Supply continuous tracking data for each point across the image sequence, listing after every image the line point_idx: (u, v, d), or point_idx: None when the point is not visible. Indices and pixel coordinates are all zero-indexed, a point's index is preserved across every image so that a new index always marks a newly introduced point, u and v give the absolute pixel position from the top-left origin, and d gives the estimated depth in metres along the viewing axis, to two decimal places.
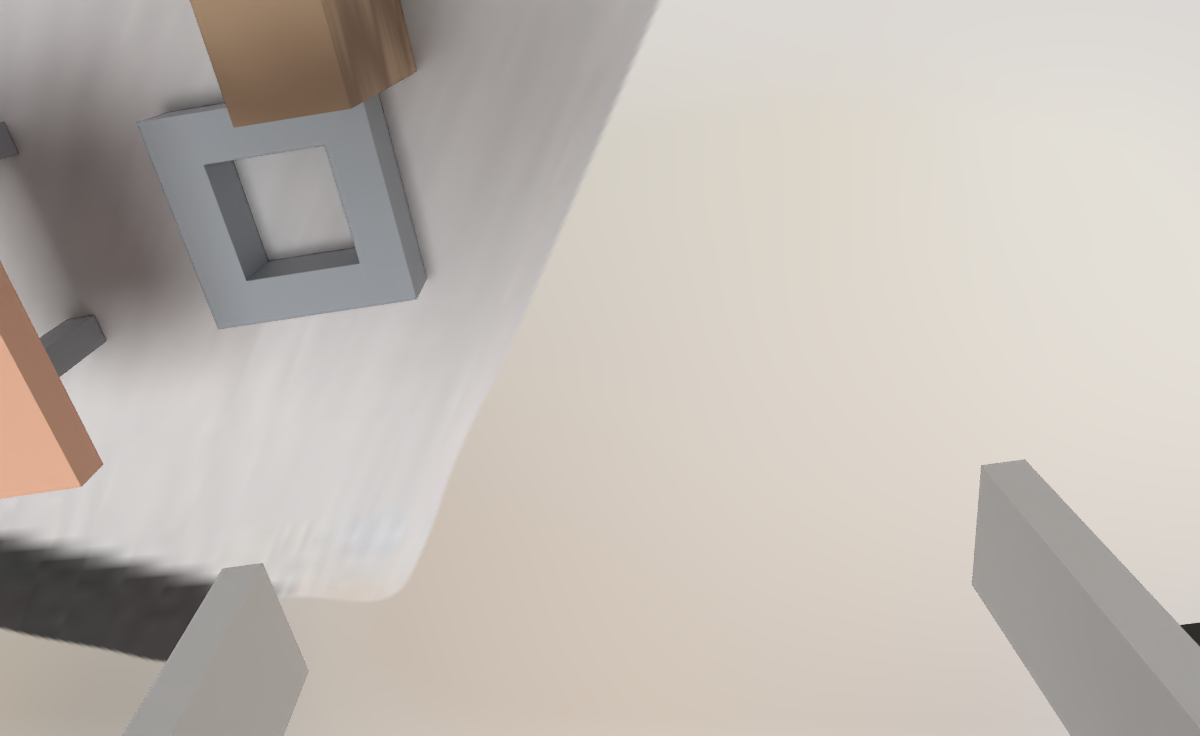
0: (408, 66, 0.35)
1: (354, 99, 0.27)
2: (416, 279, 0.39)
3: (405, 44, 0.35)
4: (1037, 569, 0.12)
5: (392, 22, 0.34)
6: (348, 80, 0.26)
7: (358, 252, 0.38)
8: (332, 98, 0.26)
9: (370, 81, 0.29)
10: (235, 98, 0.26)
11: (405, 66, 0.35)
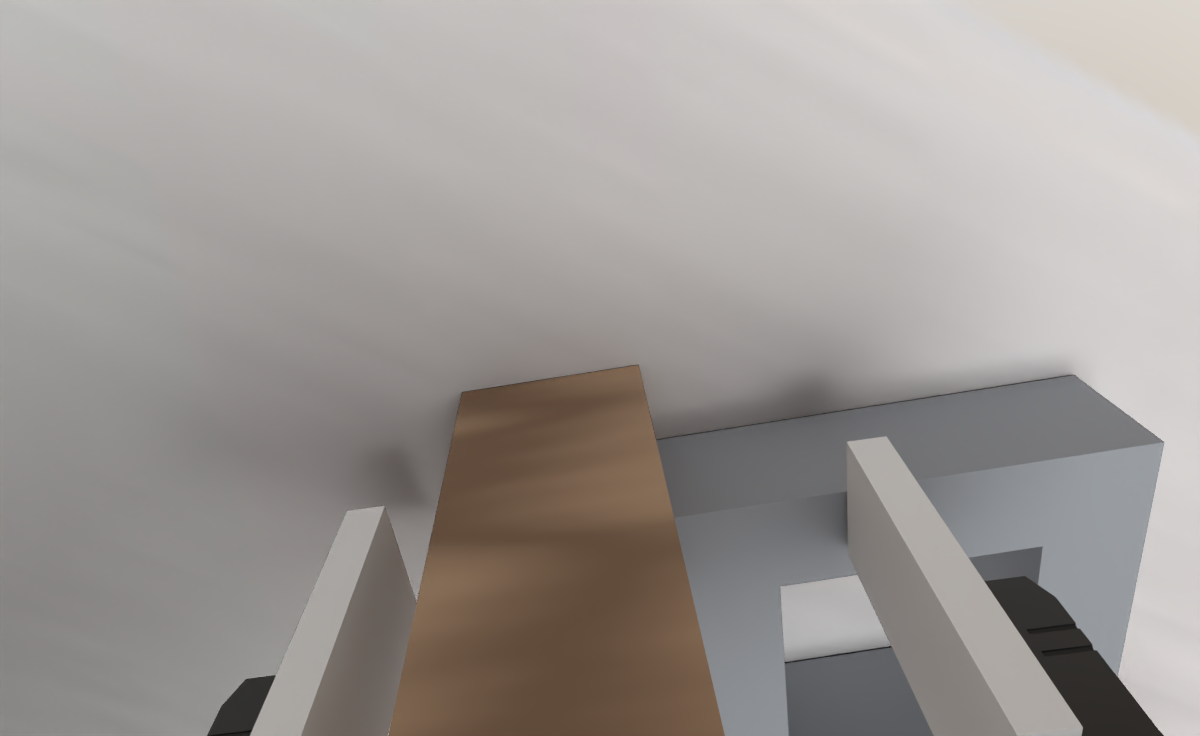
0: (628, 400, 0.16)
1: None
2: (1099, 423, 0.17)
3: (585, 395, 0.17)
4: (881, 533, 0.14)
5: (538, 439, 0.15)
6: None
7: (1017, 547, 0.17)
8: None
9: (668, 669, 0.10)
10: None
11: (628, 414, 0.16)
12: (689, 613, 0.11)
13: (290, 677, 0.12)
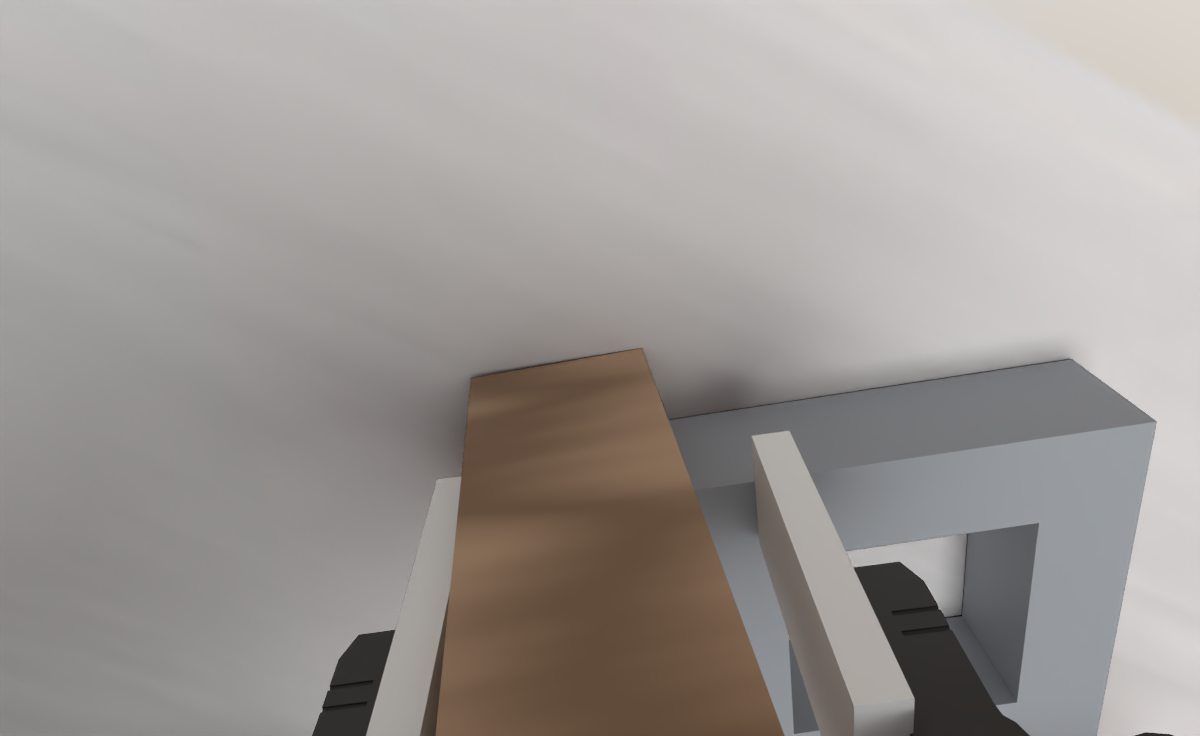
0: (636, 380, 0.17)
1: None
2: (1094, 404, 0.17)
3: (592, 377, 0.17)
4: (775, 522, 0.14)
5: (552, 419, 0.16)
6: None
7: (1014, 523, 0.17)
8: None
9: (702, 618, 0.11)
10: None
11: (637, 393, 0.16)
12: (716, 568, 0.11)
13: (410, 629, 0.12)
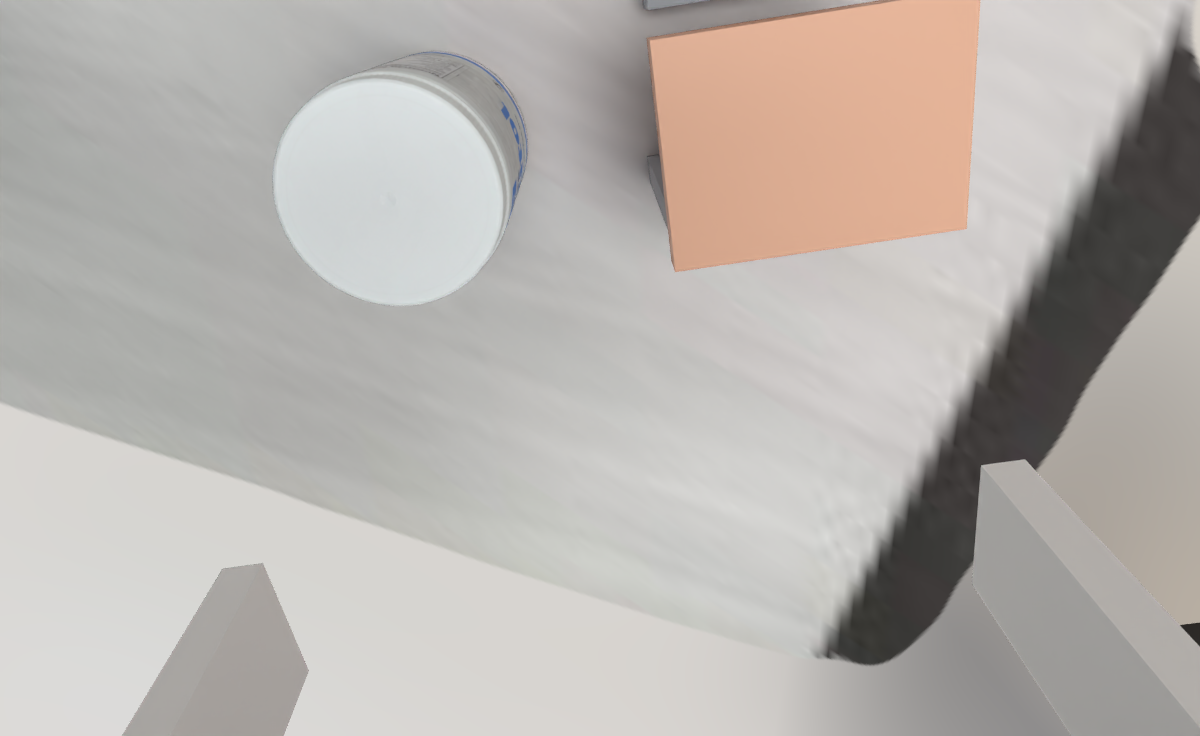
0: None
1: None
2: None
3: None
4: (1037, 568, 0.12)
5: None
6: None
7: None
8: None
9: None
10: None
11: None
12: None
13: None
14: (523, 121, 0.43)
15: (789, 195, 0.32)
